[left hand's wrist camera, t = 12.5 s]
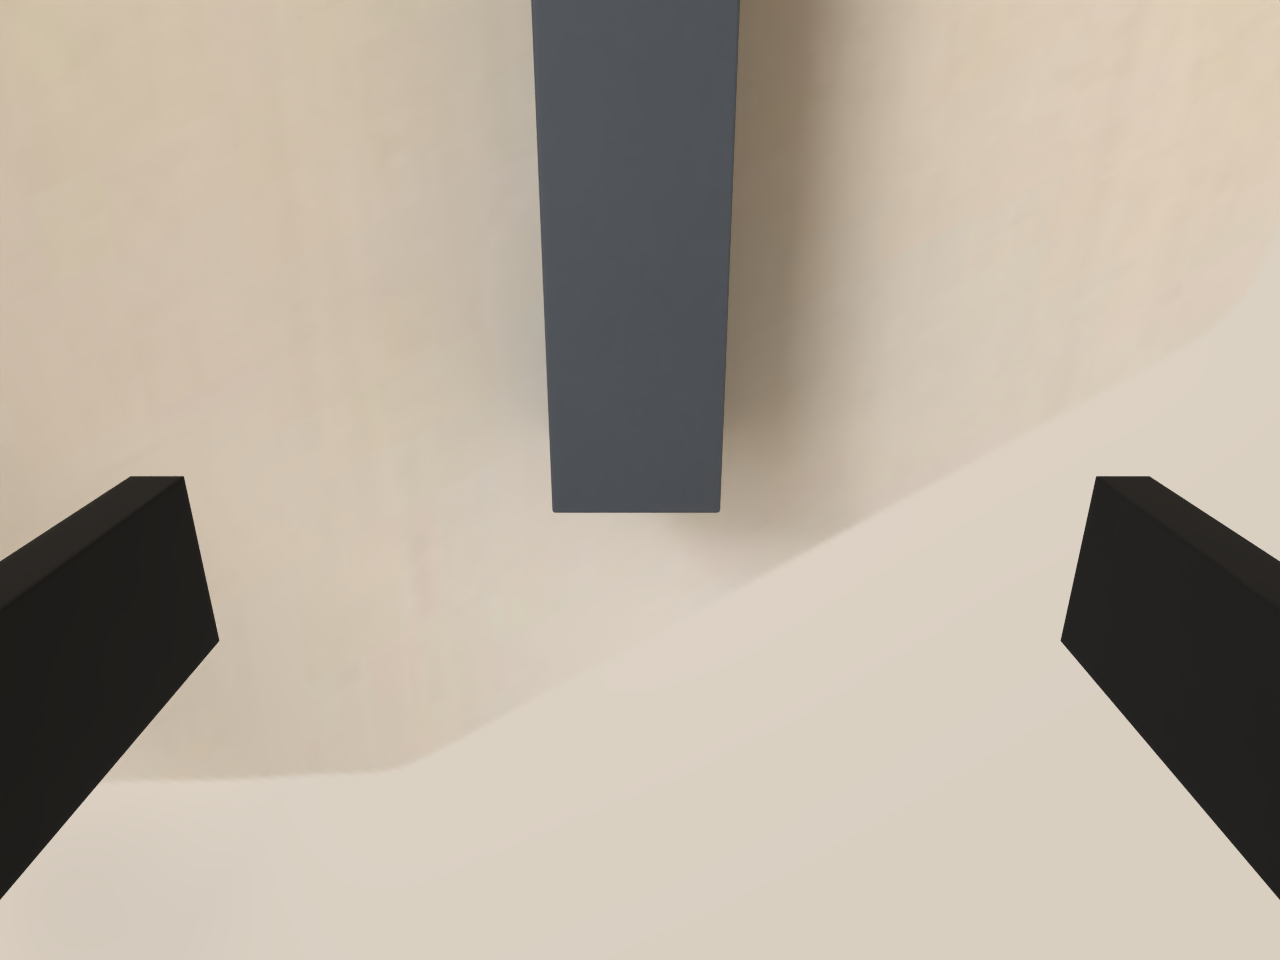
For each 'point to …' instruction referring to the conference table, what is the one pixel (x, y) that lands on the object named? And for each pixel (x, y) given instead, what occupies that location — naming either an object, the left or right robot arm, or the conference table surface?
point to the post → (635, 247)
